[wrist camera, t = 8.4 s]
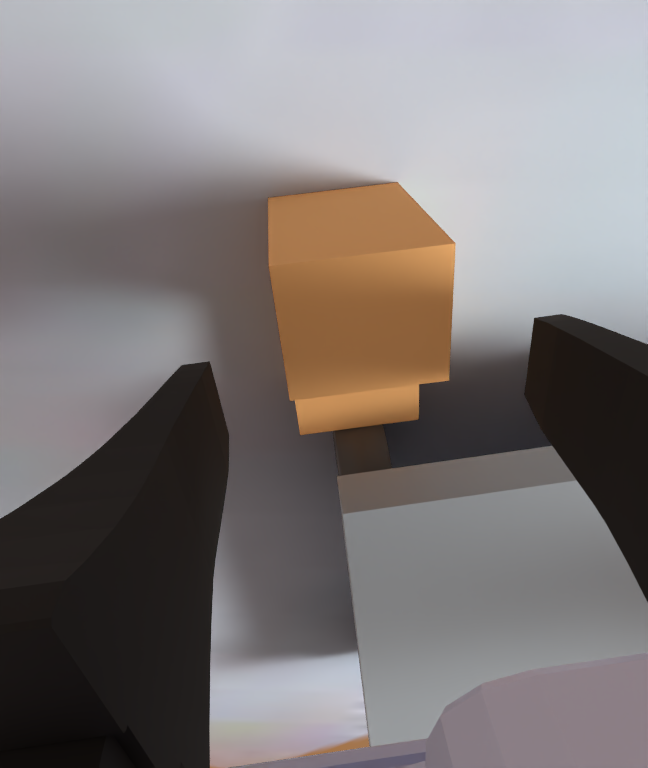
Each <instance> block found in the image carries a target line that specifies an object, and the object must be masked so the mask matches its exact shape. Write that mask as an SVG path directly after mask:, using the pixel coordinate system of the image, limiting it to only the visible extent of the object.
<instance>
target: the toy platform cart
mask: <svg viewBox="0 0 648 768" xmlns="http://www.w3.org/2000/svg"><path fill="white" fill-rule="evenodd" d="M333 439H334V446H335V454H336V462H337V469H338V476H337V483H338V491H339V499H340V507H341V515H342V524H343V532H344V540H345V548H346V556H347V565H348V573H349V581H350V589H351V597H352V606H353V614H354V622H355V630H356V638H357V647H358V655H359V663H360V671H361V679H362V687H363V696H364V704H365V712H366V720H367V728H368V737H369V744H370V747H372V746H379V745H385V744H392V743H399V742H406V741H412V740H419V739H426V738H428V737H429V735H430V734H431V732H432V730H433V728H434V726H435V724H436V723H437V721H438V719H439V717H440V715H441V714H442V712H443V710H444V709H445V707H446V706H447V705H449V704H450V703H452V702H453V701H455V700H457V699H458V698H460V697H461V696H463V695H465V694H466V693H468V692H469V691H471V690H473V689H474V688H476V687H477V686H479V685H480V684H482V683H486V682H489V681H493V680H496V679H500V678H503V677H507V676H510V675H514V674H518V673H521V672H525V671H528V670H532V669H539V668H545V667H552V666H559V665H566V664H573V663H580V662H587V661H593V660H600V659H607V658H614V657H621V656H628V655H635V654H641V653H648V602H647V600H646V598H645V596H644V594H643V592H642V590H641V588H640V587H639V585H638V583H637V581H636V579H635V577H634V575H633V573H632V571H631V569H630V567H629V565H628V563H627V561H626V559H625V557H624V556H623V554H622V552H621V550H620V548H619V546H618V545H617V543H616V541H615V539H614V537H613V535H612V534H611V532H610V530H609V528H608V526H607V525H606V523H605V521H604V520H603V518H602V517H601V515H600V513H599V512H598V510H597V509H596V507H595V506H594V504H593V503H592V501H591V500H590V499H589V497H588V496H587V494H586V493H585V491H584V490H583V489H582V487H581V486H580V484H579V483H578V482H577V480H576V479H575V477H574V476H573V474H572V473H571V472H570V470H569V469H568V467H567V466H566V465H565V463H564V462H563V460H562V459H561V457H560V456H559V455H558V453H557V452H556V450H555V449H554V447H553V446H547V447H540V448H533V449H526V450H519V451H512V452H505V453H497V454H490V455H483V456H476V457H469V458H462V459H455V460H448V461H441V462H434V463H427V464H420V465H413V466H406V467H399V468H392V466H391V461H390V455H389V450H388V445H387V440H386V436H385V432H384V428H383V424H381V425H373V426H366V427H358V428H351V429H343V430H335V431H333Z"/></svg>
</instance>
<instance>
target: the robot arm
mask: <svg viewBox="0 0 648 768" xmlns="http://www.w3.org/2000/svg"><path fill="white" fill-rule="evenodd" d="M524 395H525V397H526V399H527V401H528V403H529V406H530V408H531V410H532V412H533V414H534V416H535V418H536V420H537V422H538V424H539V426H540V428H541V430H542V431H543V433H544V434H545V436H546V437H547V439H548V440H549V442H550V443H551V444H552V446H553V447H554V449H555V450H556V452H557V453H558V455H559V456H560V457H561V459H562V460H563V462H564V463H565V465H566V466H567V467H568V469H569V470H570V472H571V473H572V474H573V476H574V477H575V479H576V480H577V482H578V483H579V484H580V486H581V487H582V489H583V490H584V491H585V493H586V494H587V496H588V497H589V499H590V500H591V501H592V503H593V504H594V506H595V507H596V509H597V510H598V512H599V513H600V515H601V517H602V518H603V520H604V521H605V523H606V525H607V526H608V528H609V530H610V532H611V534H612V535H613V537H614V539H615V541H616V543H617V545H618V546H619V548H620V550H621V552H622V554H623V556H624V557H625V559H626V561H627V563H628V565H629V567H630V569H631V571H632V573H633V575H634V577H635V579H636V581H637V583H638V585H639V587H640V588H641V590H642V592H643V594H644V596H645V598H646V600H647V602H648V344H645V343H642V342H640V341H637V340H634V339H632V338H629V337H626V336H624V335H621V334H618V333H616V332H613V331H611V330H608V329H605V328H603V327H600V326H597V325H595V324H592V323H589V322H586V321H583V320H580V319H577V318H574V317H571V316H567V315H562V314H560V315H553V316H545V317H538V318H534V324H533V332H532V340H531V347H530V355H529V362H528V370H527V378H526V385H525V393H524ZM228 468H229V433H228V430H227V426H226V422H225V418H224V414H223V411H222V407H221V403H220V399H219V395H218V391H217V388H216V384H215V380H214V376H213V372H212V368H211V365H210V362H203V363H195V364H188V365H182V366H181V367H180V368H179V369H178V370H177V371H176V372H175V373H174V374H173V375H172V376H171V377H170V378H169V379H168V380H167V381H166V382H165V384H164V385H163V386H162V387H161V388H160V389H159V390H158V391H157V392H156V393H155V395H154V396H153V397H152V398H151V399H150V400H149V401H148V402H147V403H146V404H145V405H144V406H143V407H142V408H141V409H140V410H139V412H138V413H137V414H136V415H135V416H134V417H133V418H132V419H131V420H129V421H128V422H127V423H126V424H125V425H124V426H123V427H122V428H121V429H120V430H119V431H118V432H117V433H116V434H115V435H114V436H113V437H112V438H111V439H110V440H109V441H107V442H106V443H105V444H104V445H103V446H102V447H101V448H100V449H98V450H97V451H96V452H95V453H94V454H93V455H91V456H90V457H89V458H88V459H86V460H85V461H84V462H83V463H81V464H80V465H79V466H78V467H76V468H75V469H74V470H72V471H71V472H70V473H69V474H67V475H66V476H65V477H63V478H62V479H60V480H59V481H58V482H56V483H55V484H53V485H52V486H50V487H49V488H47V489H46V490H44V491H43V492H41V493H40V494H38V495H37V496H35V497H34V498H32V499H31V500H29V501H28V502H26V503H25V504H23V505H22V506H20V507H19V508H17V509H16V510H14V511H13V512H11V513H9V514H8V515H6V516H4V517H3V518H1V519H0V768H210V748H209V714H210V651H211V617H212V595H213V576H214V567H215V558H216V551H217V545H218V538H219V532H220V526H221V519H222V513H223V506H224V500H225V493H226V486H227V479H228ZM230 768H648V653H641V654H635V655H628V656H621V657H614V658H607V659H600V660H593V661H587V662H580V663H573V664H566V665H559V666H552V667H545V668H539V669H532V670H528V671H525V672H521V673H518V674H514V675H510V676H507V677H503V678H500V679H496V680H493V681H489V682H486V683H482V684H480V685H479V686H477V687H476V688H474V689H473V690H471V691H469V692H468V693H466V694H465V695H463V696H461V697H460V698H458V699H457V700H455V701H453V702H452V703H450V704H449V705H447V706H446V707H445V709H444V710H443V712H442V714H441V715H440V717H439V719H438V721H437V723H436V724H435V726H434V728H433V730H432V732H431V734H430V735H429V737H428V738H426V739H419V740H412V741H406V742H399V743H392V744H385V745H379V746H372V747H365V748H358V749H351V750H345V751H338V752H332V753H324V754H318V755H311V756H304V757H297V758H291V759H284V760H277V761H270V762H263V763H257V764H250V765H243V766H236V767H230Z"/></svg>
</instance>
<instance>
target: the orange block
mask: <svg viewBox="0 0 648 768" xmlns="http://www.w3.org/2000/svg"><path fill="white" fill-rule="evenodd" d="M268 254H269V272H270V278H271V285H272V291H273V297H274V304H275V310H276V316H277V323H278V329H279V335H280V342H281V348H282V354H283V360H284V367H285V373H286V379H287V386H288V392H289V398H290V401H295V405H296V411H297V418H298V425H299V431H300V435H305V434H312V433H320V432H328V431H335V430H343V429H351V428H358V427H366V426H373V425H381V424H389V423H396V422H404V421H412V420H419V384H426V383H434V382H441V381H449V371H450V349H451V328H452V307H453V285H454V264H455V242H454V241H453V240H452V239H451V238H450V237H449V236H448V235H447V234H446V233H445V232H444V231H443V230H442V229H441V228H440V227H439V226H438V224H437V223H436V222H435V221H434V220H433V219H432V218H431V217H430V216H429V215H428V214H427V213H426V212H425V211H424V210H423V209H422V208H421V207H420V205H419V204H418V203H417V202H416V201H415V200H414V199H413V198H412V197H411V196H410V195H409V194H408V193H407V192H406V191H405V190H404V189H403V188H402V187H401V185H400V184H399V183H398V182H396V183H387V184H379V185H371V186H362V187H354V188H346V189H337V190H329V191H320V192H312V193H304V194H295V195H287V196H279V197H270V198H268Z"/></svg>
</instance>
